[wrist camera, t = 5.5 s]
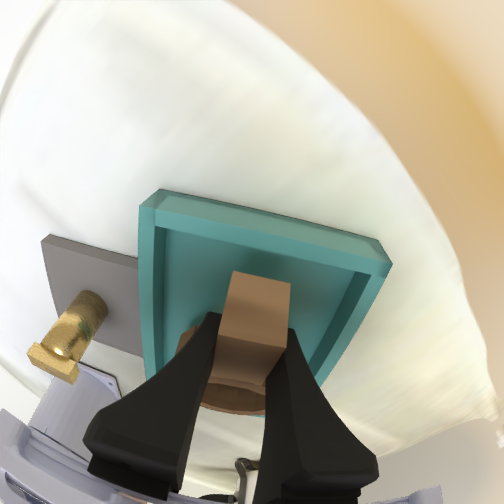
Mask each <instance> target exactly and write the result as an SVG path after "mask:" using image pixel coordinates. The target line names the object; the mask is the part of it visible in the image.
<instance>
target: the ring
mask: <svg viewBox="0 0 504 504" xmlns="http://www.w3.org/2000/svg"><path fill="white" fill-rule="evenodd" d="M290 286H291V283H287V282H282V281H278V280H273V279H268V278H264V277H259V276H255V275H250V274H246V273H242V272H237V271H233V273H232V277H231V281H230V285H229V289H228V294H227V298H226V302H225V306H224V310H223V314H222V319H221V323H220V327H219V331H218V336H217V342H216V347H215V353H214V360H213V368H212V371H211V374H210V377H209V380H208V383H207V386H206V389H205V392H204V395H203V398H202V401H201V404H200V406H202V407H205V408H207V409H210V408H211V410H215V411H220V412H225V413H230V414H237V415H255V416H262V415H263V416H264V415H265V379H266V377H267V376H268V374H269V373H270V372H271V370H272V369H273V368H274V366H275V365H276V363H277V362H278V360H279V358H280V357H281V355H282V354H283V352H284V351H285V349H286V345H287V332H288V318H289V302H290ZM199 326H200V325H198V326H196V325H195V326H194V327H192V328H190V329H189V330H187V331H186V332H184V333H182V334H181V336H180V339H179V343H178V346H177V349H176V352H175V355H176V354H177V353H178V352H179V351H180V350H181V349H182V347H183V346H184V345H185V344H186V343H187V342H188V340H189V339H190V338H191V337H192V335H193V334H194V333H195V331H196V330H197V329H198V327H199Z"/></svg>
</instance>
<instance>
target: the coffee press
mask: <svg viewBox="0 0 504 504" xmlns="http://www.w3.org/2000/svg"><path fill="white" fill-rule="evenodd" d="M241 462H242V463H243V464H244V466H245V467H246V468H247V469H248V470H249V471H251V472H247V473H246V472H245V470H244V468H243V466H242V464H241ZM235 467H236V469H237V471H238V473H239V475H240V477H239V479H238V481H237V486H236V493H234V495H223V494H210V495H205V496H202V497H199V499H204V500H209V501H215V502H221V503H228V504H252V501H253V496H254V492H255V487H256V482H257V476H258V471H259V470H258V469H255V468H254V467H253V466H252V465H251V463H250V462H249V460H247V459H241V460H237V461H236V462H235Z"/></svg>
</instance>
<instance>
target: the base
mask: <svg viewBox="0 0 504 504" xmlns="http://www.w3.org/2000/svg"><path fill="white" fill-rule="evenodd" d="M41 246H42V252H43V257H44V262H45V267H46V272H47V276H48V280H49V285H50V289H51V293H52V296H53V300H54V304H55V307H56V311H57V314H58V317H59V318H60V316H61V315H62V314H63V313H64V311H65V310H66V309H67V307H68V306H69V305H70V304H71V302H72V301H73V300H74V299H75V298H76V296H77V295H78V294H79V293H80V292H81V291H82V290H90V291H92V292H94V293H96V294H97V295H99V296H100V297H101V298H102V299H103V300H104V302H105V303H106V305H107V307H108V315H107V317H106V319H105V320H104V322H103V323H102V325H101V326H100V328H99V329H98V331H97V333H96V334H95V336H94V337H93V339H92V340H95V341H97V342H100V343H103V344H105V345H108V346H111V347H114V348H116V349H119V350H122V351H125V352H128V353H131V354H134V355H137V356H140V357H143V358H144V356H143V346H142V335H141V322H140V305H139V280H138V259H137V258H133V257H129V256H125V255H122V254H118V253H114V252H110V251H107V250H103V249H99V248H96V247H92V246H88V245H85V244H81V243H77V242H74V241H70V240H67V239H63V238H60V237H56V236H53V235H50V234H49V235H48V236H47V237H45V238H44V239H43V240H42V241H41Z"/></svg>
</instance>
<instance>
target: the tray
mask: <svg viewBox="0 0 504 504" xmlns="http://www.w3.org/2000/svg"><path fill="white" fill-rule="evenodd" d="M391 267H392V262H391V260H390V259H389V257H388V255H387V254H386V252H385V250H384V249H383V247H382V246H381V244H380V243H379V241H378V240H375V239H372V238H368V237H364V236H361V235H357V234H353V233H350V232H346V231H342V230H338V229H335V228H331V227H327V226H323V225H319V224H315V223H311V222H307V221H303V220H299V219H295V218H291V217H287V216H283V215H278V214H274V213H270V212H266V211H261V210H257V209H253V208H248V207H244V206H239V205H235V204H230V203H226V202H221V201H216V200H211V199H207V198H202V197H197V196H192V195H187V194H182V193H177V192H172V191H167V190H161V189H159V190H157V191H156V192H155V193H154V194H153V195H151V196H150V197H149V198H148V199H146V200H145V201H144V202H143V203H142V204H141V205H139V226H138V280H139V305H140V322H141V335H142V346H143V356H144V365H145V373H146V381H147V380H149V379H150V378H151V377H152V376H154V375H155V374H156V373H157V372H158V371H160V370H161V369H162V368H163V367H164V366H165V365H166V364H167V363H168V362H169V361H170V360H171V359H172V358H173V357H174V356H175V352H176V349H177V346H178V343H179V339H180V336H181V334H182V333H184V332H186V331H187V330H189V329H190V328H192V327H194V326H195V325H196V326H198V325H200V324H201V323H202V321H203V319H204V318H205V316H206V314H207V312H210V311H211V312H215V313H219V314H223V310H224V306H225V302H226V298H227V294H228V289H229V285H230V281H231V277H232V273H233V271H237V272H242V273H246V274H250V275H255V276H259V277H264V278H268V279H273V280H278V281H282V282H287V283H291V286H290V302H289V318H288V328H292V329H294V330H295V332H296V335H297V338H298V341H299V343H300V346H301V349H302V351H303V354H304V356H305V359H306V361H307V363H308V365H309V367H310V370H311V372H312V374H313V376H314V378H315V380H316V382H317V384H318V386H319V387H321V385H322V384H323V382H324V381H325V380H326V378H327V377H328V375H329V374H330V372H331V371H332V369H333V368H334V366H335V365H336V363H337V362H338V360H339V359H340V357H341V355H342V354H343V352H344V351H345V349H346V348H347V346H348V344H349V343H350V341H351V340H352V338H353V336H354V335H355V333H356V331H357V330H358V328H359V326H360V324H361V323H362V321H363V319H364V318H365V316H366V314H367V312H368V310H369V309H370V307H371V305H372V303H373V301H374V300H375V298H376V296H377V294H378V292H379V290H380V288H381V286H382V284H383V283H384V281H385V279H386V277H387V275H388V273H389V271H390V269H391ZM249 416H255V415H249ZM255 417H262V418H265V415H264V416H263V415H262V416H255Z"/></svg>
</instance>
